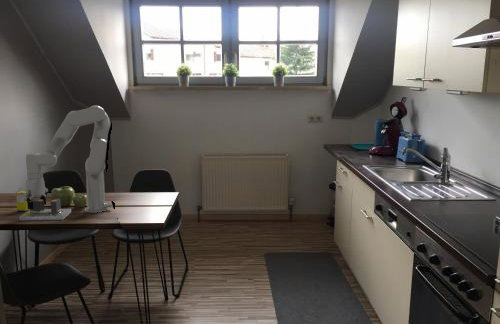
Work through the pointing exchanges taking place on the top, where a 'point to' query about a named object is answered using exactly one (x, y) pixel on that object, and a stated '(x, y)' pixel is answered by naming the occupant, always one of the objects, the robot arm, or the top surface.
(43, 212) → the bubble vial
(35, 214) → the levelling plate
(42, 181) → the robot arm
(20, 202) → the supplement box
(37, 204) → the knob
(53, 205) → the knob
